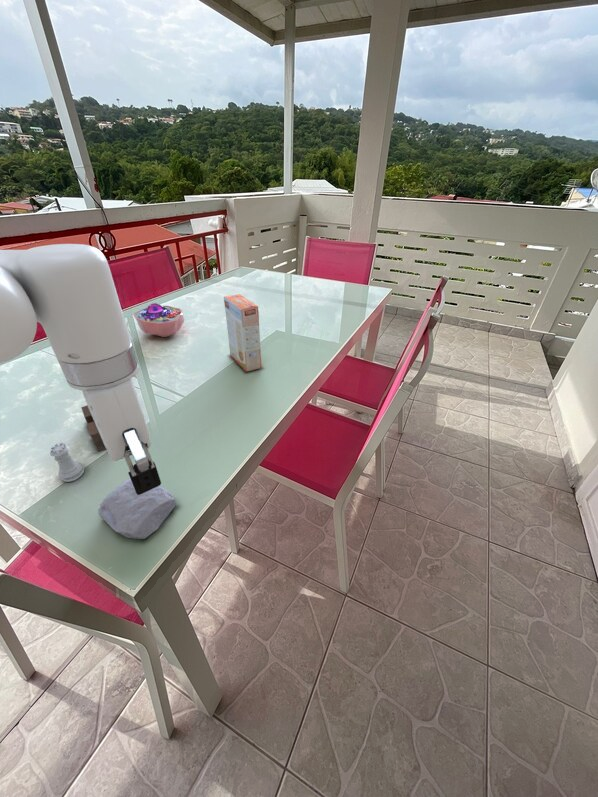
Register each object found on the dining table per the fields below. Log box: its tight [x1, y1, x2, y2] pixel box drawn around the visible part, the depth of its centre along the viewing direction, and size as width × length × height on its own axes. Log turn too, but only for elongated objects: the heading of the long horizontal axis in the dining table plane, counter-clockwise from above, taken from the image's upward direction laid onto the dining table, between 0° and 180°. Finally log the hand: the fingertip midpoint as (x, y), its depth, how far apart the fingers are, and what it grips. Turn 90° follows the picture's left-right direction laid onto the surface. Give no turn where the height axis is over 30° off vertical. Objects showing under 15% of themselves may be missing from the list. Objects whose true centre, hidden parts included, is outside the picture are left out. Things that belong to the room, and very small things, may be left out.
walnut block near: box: [86, 422, 106, 452], centre depth 77 cm, size 5×5×5 cm
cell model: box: [133, 302, 185, 338], centre depth 126 cm, size 17×20×11 cm
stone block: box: [97, 477, 177, 540], centre depth 61 cm, size 12×5×10 cm
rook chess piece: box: [49, 442, 85, 483], centre depth 67 cm, size 4×4×8 cm
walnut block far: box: [81, 405, 94, 425], centre depth 82 cm, size 5×5×5 cm
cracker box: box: [223, 293, 262, 373], centre depth 105 cm, size 14×6×21 cm, turn 31°
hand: (138, 467), depth 48 cm, fingers open, 9 cm apart
